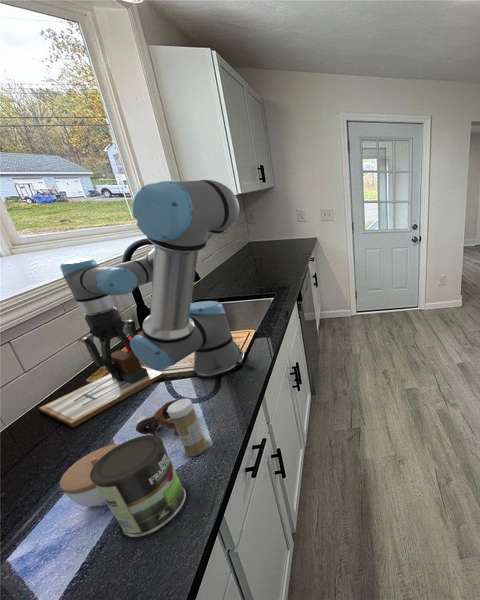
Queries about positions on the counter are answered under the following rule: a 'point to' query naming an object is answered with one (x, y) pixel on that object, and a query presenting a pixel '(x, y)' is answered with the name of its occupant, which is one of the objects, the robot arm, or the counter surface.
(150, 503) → the coffee can
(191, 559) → the counter surface
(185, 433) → the sprinkles bottle
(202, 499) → the counter surface
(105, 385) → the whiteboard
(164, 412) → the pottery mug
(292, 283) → the counter surface
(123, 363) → the eraser
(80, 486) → the trinket box
